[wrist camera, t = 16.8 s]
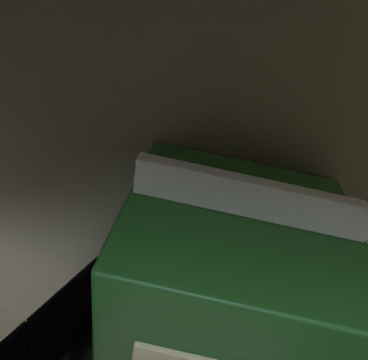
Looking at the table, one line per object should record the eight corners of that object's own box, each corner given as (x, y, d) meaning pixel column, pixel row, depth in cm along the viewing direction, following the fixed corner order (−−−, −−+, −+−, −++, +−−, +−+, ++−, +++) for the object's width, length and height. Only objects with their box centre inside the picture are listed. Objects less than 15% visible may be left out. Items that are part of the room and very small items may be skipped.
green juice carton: (248, 338, 12) (253, 485, 9) (132, 312, 12) (92, 447, 9) (353, 152, 7) (463, 323, 4) (156, 110, 7) (85, 239, 4)
